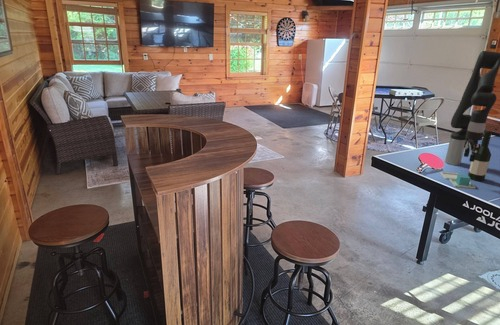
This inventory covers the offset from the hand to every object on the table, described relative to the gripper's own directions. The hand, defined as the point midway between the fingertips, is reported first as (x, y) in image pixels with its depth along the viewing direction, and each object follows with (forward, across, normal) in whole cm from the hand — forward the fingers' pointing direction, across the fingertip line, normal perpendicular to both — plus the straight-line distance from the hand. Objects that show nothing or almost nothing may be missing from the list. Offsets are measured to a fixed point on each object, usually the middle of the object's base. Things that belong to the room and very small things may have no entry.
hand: (468, 158), depth 181 cm
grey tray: (+16, -11, -2) cm, 19 cm away
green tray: (+16, 0, 0) cm, 16 cm away
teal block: (+15, 0, 0) cm, 15 cm away
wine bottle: (+16, -12, +11) cm, 23 cm away
